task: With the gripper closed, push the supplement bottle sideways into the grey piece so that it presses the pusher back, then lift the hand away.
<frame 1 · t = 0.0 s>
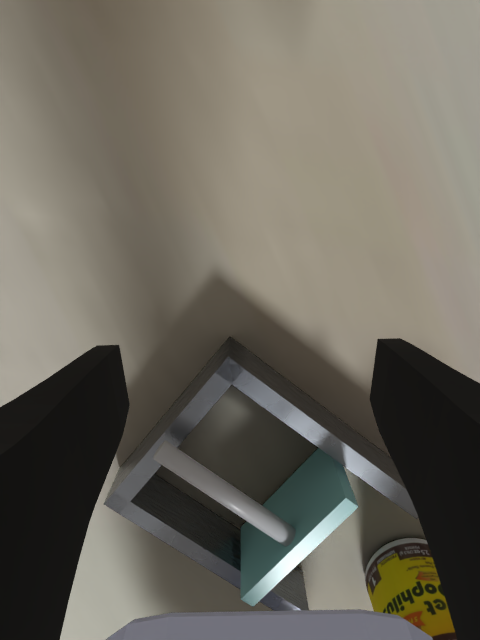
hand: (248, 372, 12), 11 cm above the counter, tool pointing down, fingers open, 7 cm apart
pusher: (233, 479, 22), point 3 cm above the counter, slide at 0.0 cm
grey piece: (264, 469, 25), on the counter
supplement bottle: (403, 565, 27), on the counter
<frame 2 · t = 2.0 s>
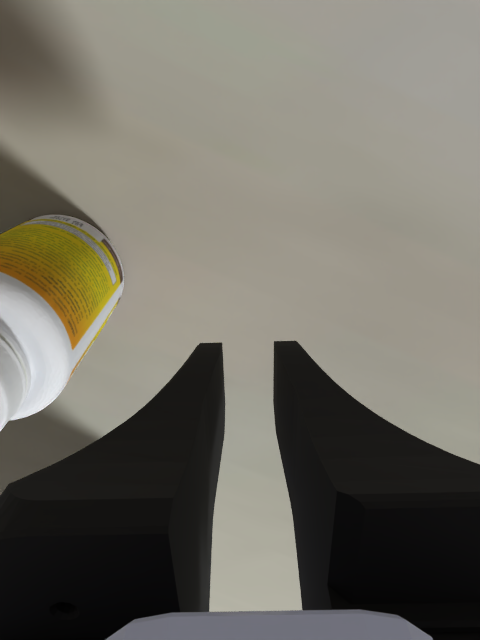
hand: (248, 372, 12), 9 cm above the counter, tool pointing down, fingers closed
supplement bottle: (71, 268, 21), on the counter
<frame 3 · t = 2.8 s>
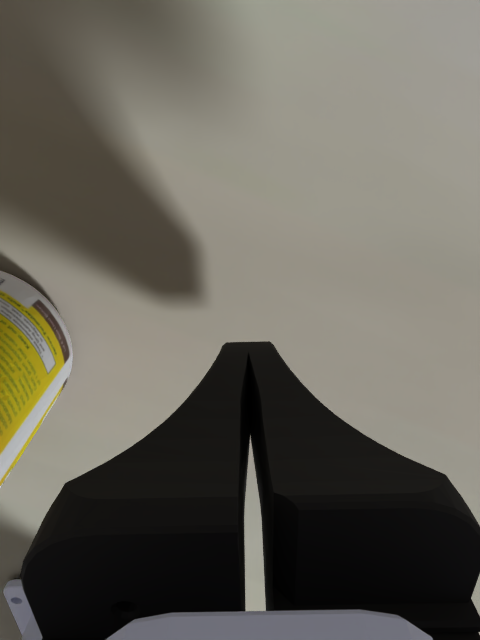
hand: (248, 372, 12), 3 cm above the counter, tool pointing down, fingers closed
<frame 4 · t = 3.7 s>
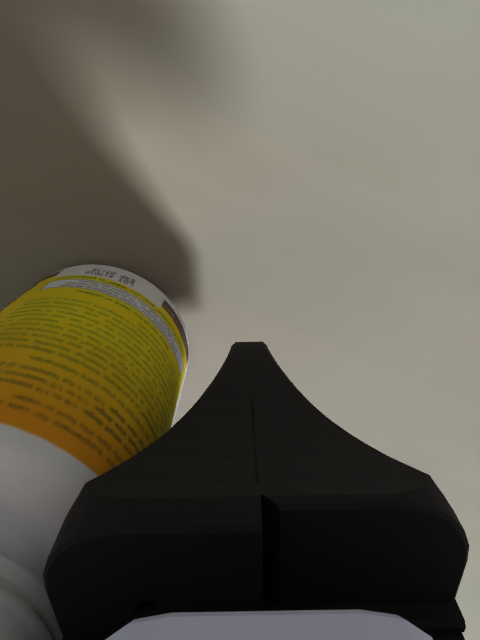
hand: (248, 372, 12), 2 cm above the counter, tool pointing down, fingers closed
supplement bottle: (111, 335, 14), on the counter, touching gripper
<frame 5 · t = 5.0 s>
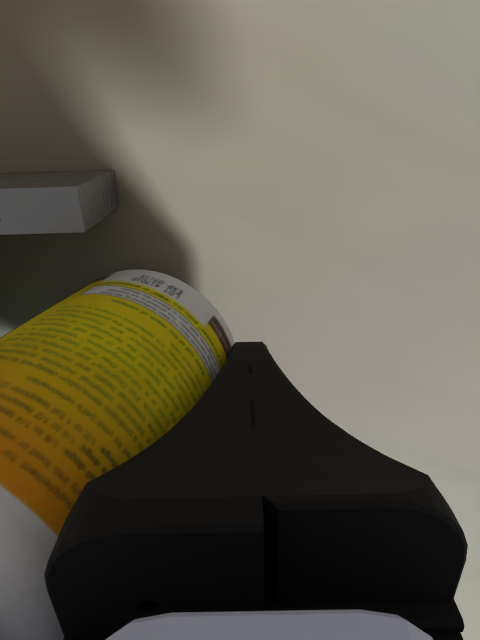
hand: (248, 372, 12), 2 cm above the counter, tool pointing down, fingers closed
supplement bottle: (163, 343, 14), point 1 cm above the counter, touching gripper
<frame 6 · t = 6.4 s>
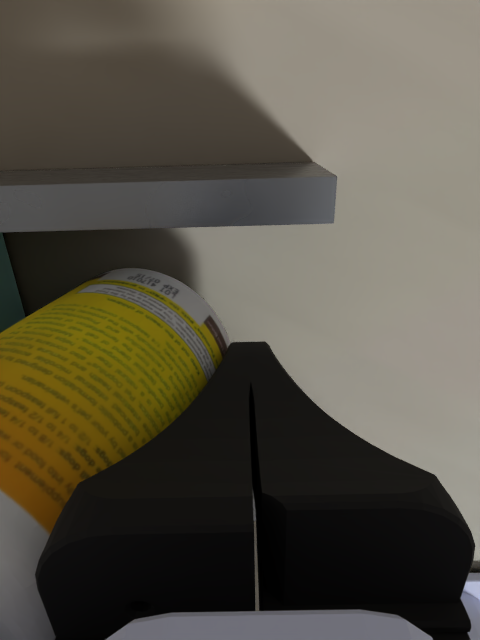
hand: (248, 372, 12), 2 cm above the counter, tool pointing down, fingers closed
grey piece: (104, 336, 14), on the counter
supplement bottle: (158, 342, 14), point 1 cm above the counter, touching gripper, pusher
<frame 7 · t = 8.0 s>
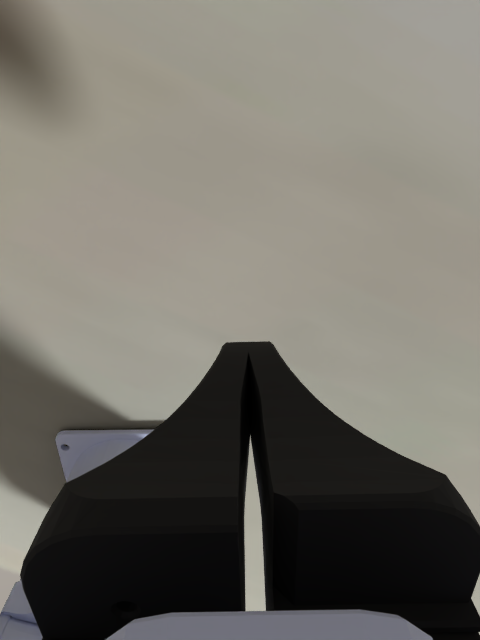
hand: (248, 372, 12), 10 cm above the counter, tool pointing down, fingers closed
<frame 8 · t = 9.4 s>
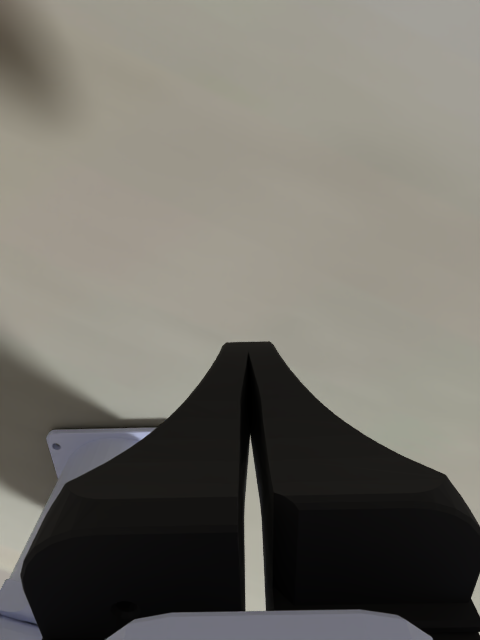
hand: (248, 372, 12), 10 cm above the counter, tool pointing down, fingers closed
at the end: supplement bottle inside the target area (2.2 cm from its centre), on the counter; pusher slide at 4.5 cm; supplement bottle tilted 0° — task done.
